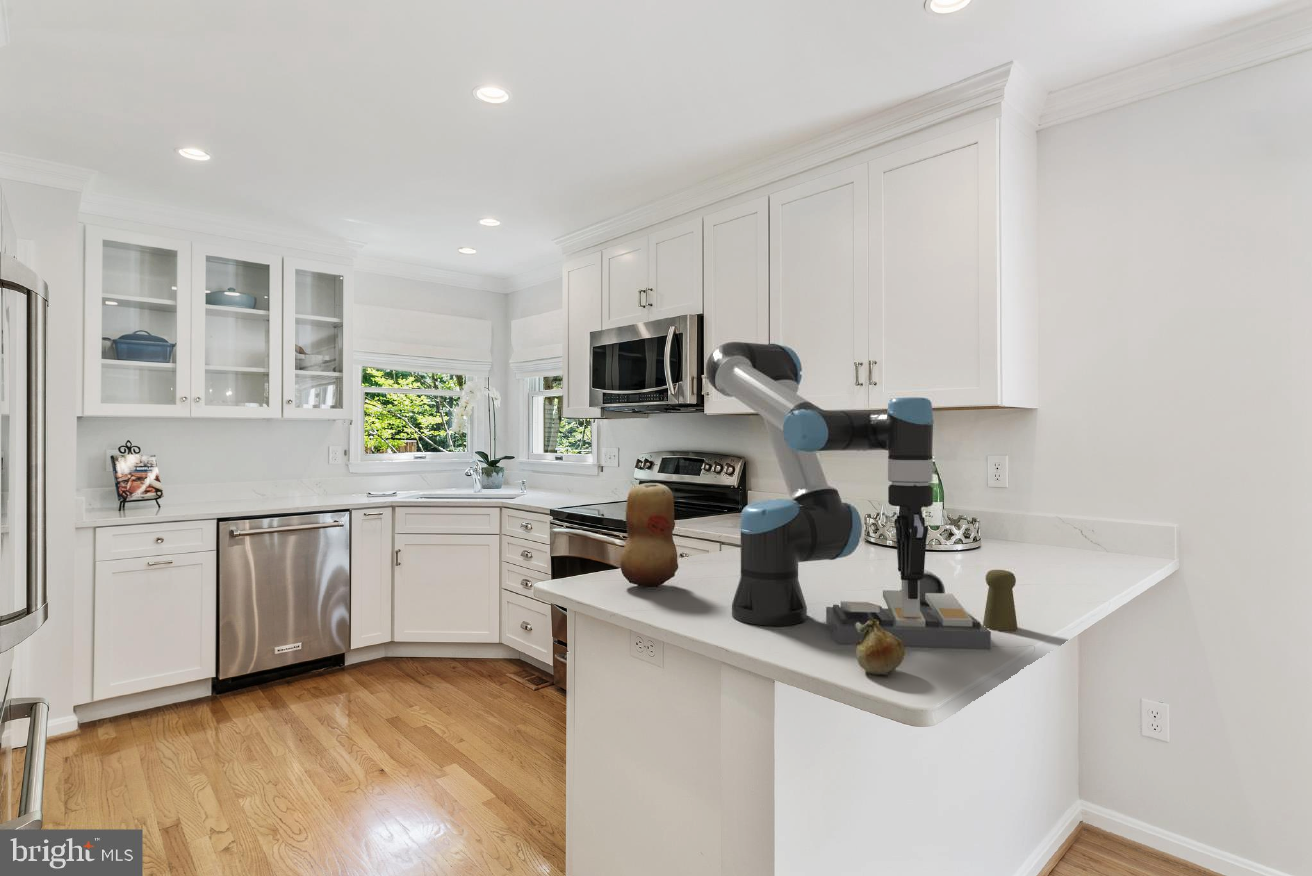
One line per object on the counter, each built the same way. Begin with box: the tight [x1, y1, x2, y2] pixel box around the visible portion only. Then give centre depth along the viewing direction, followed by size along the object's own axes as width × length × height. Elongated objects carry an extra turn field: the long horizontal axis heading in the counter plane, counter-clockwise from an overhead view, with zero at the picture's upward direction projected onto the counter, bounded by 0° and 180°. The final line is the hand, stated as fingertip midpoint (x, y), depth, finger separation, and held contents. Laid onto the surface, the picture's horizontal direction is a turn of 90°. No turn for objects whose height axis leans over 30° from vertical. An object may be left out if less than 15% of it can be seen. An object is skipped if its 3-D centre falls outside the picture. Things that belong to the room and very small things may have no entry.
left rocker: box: [839, 600, 880, 612], centre depth 128 cm, size 5×11×1 cm, turn 174°
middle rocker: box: [882, 589, 926, 627], centre depth 127 cm, size 5×11×1 cm, turn 174°
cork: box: [982, 569, 1018, 633], centre depth 132 cm, size 6×6×11 cm
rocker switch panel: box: [825, 604, 992, 650], centre depth 127 cm, size 26×14×4 cm, turn 84°
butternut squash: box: [620, 482, 679, 588], centre depth 165 cm, size 14×13×25 cm
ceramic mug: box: [898, 569, 946, 610], centre depth 149 cm, size 11×8×8 cm
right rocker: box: [925, 593, 973, 626], centre depth 126 cm, size 5×11×1 cm, turn 174°
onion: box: [855, 619, 906, 676], centre depth 107 cm, size 8×8×8 cm
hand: (910, 615), depth 122 cm, fingers closed
